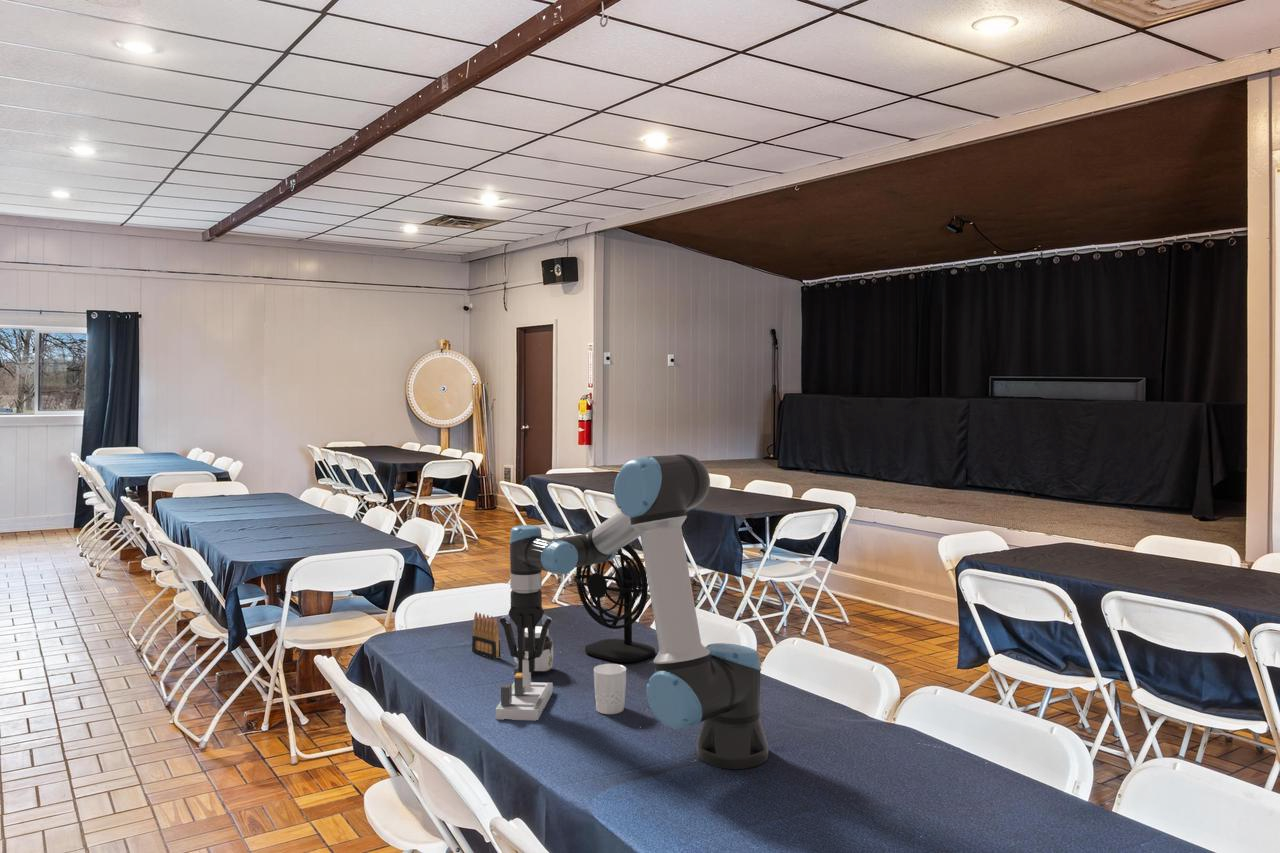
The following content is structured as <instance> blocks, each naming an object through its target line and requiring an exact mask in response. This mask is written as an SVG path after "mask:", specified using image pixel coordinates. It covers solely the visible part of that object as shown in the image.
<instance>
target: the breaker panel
mask: <svg viewBox="0 0 1280 853" xmlns="http://www.w3.org/2000/svg"><path fill="white" fill-rule="evenodd" d="M511 684H512V703H511V704H510V706H501V701H500V702H499V703H498V705H497V706H496V708H495V720H504V719H510V720H511V719H512V720H514V721H536V720H538V721H539V719H540V717H541V715H542V714H541V713H543V712H544V710H543V709H545V708H546V706H547V704H548V702H549V701H550V698H551V696H552V695H553V687H554V683H553V682H533V681H531V684H530V685H529V687H525V693H524V695H523V696H515V683H514V682H513V683H511ZM542 711H543V712H542ZM512 720H511V721H512Z"/></svg>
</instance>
